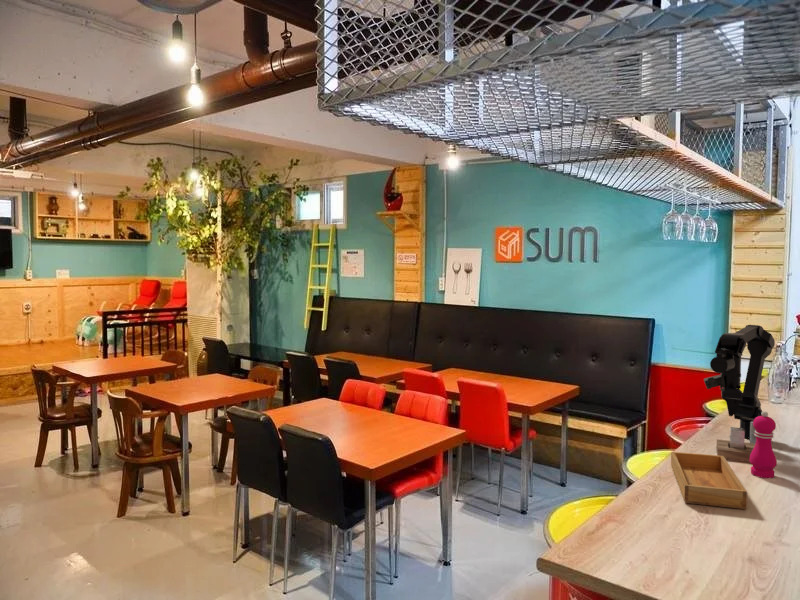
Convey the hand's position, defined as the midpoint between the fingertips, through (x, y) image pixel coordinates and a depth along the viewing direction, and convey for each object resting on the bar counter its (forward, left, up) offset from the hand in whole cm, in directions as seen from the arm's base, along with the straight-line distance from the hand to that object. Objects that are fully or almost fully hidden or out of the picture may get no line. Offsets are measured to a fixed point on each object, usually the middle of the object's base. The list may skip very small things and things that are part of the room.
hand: (730, 412), depth 209 cm
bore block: (+10, +2, -12) cm, 16 cm away
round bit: (-2, +8, -12) cm, 15 cm away
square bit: (+10, +2, -12) cm, 16 cm away
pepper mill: (+27, +8, -12) cm, 31 cm away
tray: (+44, -8, -13) cm, 47 cm away
